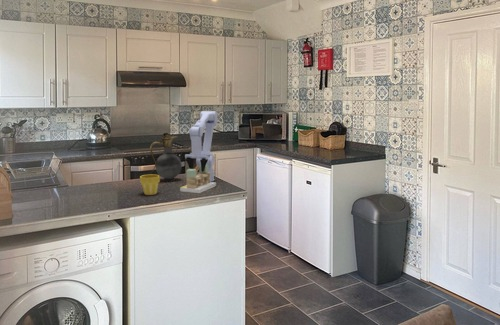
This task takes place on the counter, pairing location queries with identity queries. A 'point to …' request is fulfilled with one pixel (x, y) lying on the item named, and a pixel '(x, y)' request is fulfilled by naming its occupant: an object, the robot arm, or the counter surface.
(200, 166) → the block
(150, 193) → the plant pot
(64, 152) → the counter surface
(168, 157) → the pitcher
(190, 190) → the dock
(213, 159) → the robot arm
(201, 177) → the tan wooden bar
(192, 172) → the block
